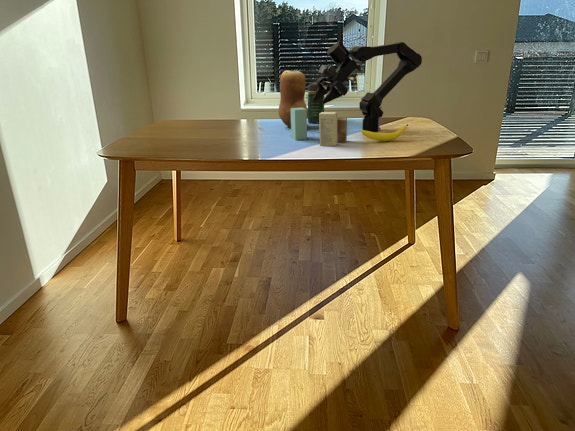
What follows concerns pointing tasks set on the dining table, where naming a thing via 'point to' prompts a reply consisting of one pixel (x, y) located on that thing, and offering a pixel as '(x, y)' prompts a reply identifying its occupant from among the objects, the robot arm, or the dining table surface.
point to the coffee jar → (314, 104)
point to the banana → (384, 135)
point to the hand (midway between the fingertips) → (318, 101)
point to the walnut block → (341, 130)
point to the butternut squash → (291, 94)
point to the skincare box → (328, 128)
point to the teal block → (298, 123)
